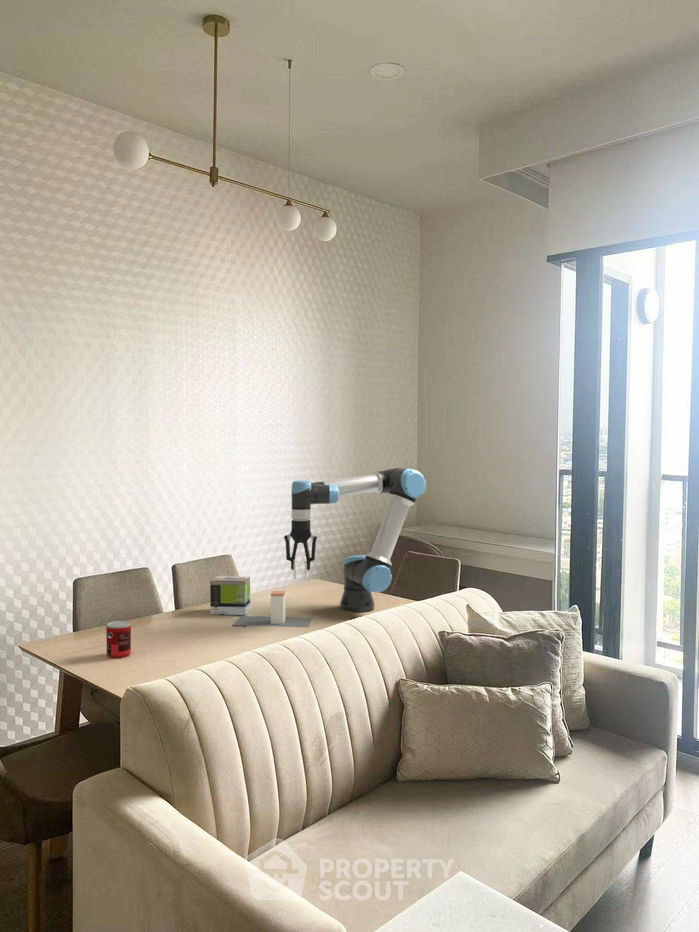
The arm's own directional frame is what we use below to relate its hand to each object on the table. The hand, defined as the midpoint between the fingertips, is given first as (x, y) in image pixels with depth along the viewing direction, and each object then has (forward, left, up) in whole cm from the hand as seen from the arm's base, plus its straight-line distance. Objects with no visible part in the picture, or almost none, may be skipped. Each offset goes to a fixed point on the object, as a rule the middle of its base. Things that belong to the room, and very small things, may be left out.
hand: (300, 577), depth 287 cm
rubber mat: (+11, -1, -19) cm, 22 cm away
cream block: (+9, 0, -18) cm, 20 cm away
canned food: (+56, +46, -19) cm, 75 cm away
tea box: (+32, -15, -19) cm, 40 cm away
